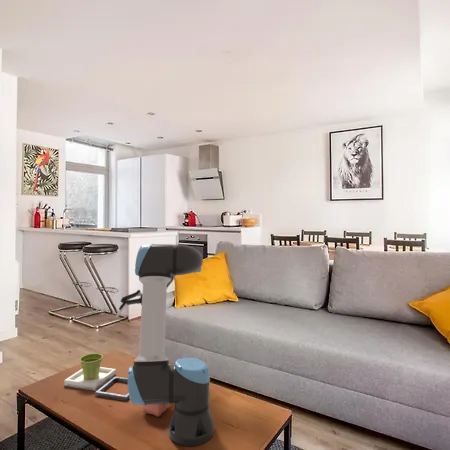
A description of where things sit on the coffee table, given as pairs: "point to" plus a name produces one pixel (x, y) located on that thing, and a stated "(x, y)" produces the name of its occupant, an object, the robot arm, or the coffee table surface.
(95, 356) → the plant pot
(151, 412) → the pink cube teapot
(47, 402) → the coffee table surface
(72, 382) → the tray
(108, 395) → the grey square frame
